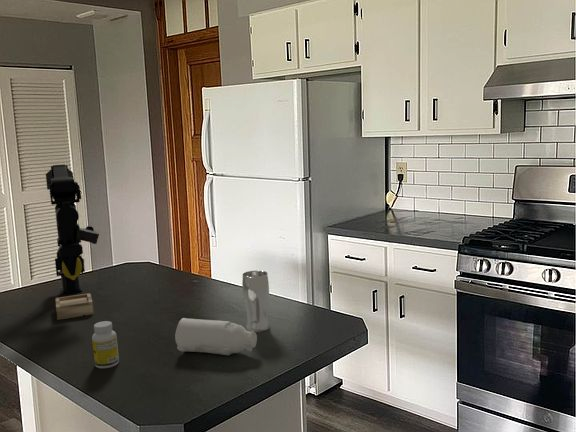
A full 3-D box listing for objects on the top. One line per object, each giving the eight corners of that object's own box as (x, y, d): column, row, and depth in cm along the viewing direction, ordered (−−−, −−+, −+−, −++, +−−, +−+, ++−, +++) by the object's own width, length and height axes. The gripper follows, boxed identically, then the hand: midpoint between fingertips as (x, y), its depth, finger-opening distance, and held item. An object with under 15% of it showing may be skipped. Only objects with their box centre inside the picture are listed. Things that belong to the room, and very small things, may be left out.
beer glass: (274, 324, 153) (272, 270, 151) (265, 334, 147) (262, 277, 144) (250, 322, 156) (247, 269, 153) (240, 331, 149) (237, 276, 147)
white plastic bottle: (249, 363, 129) (247, 330, 128) (175, 356, 135) (172, 324, 134) (261, 350, 137) (259, 318, 136) (190, 343, 143) (188, 313, 141)
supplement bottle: (98, 360, 134) (94, 320, 133) (121, 358, 135) (117, 319, 133) (92, 370, 129) (88, 328, 128) (116, 368, 130) (112, 327, 128)
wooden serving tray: (56, 309, 174) (55, 298, 173) (91, 304, 178) (90, 293, 177) (57, 319, 165) (56, 307, 164) (93, 314, 168) (92, 301, 168)
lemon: (76, 282, 167) (73, 256, 165) (59, 282, 168) (56, 256, 166) (86, 277, 172) (84, 251, 171) (70, 277, 173) (67, 251, 172)
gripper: (98, 223, 162) (103, 276, 164) (93, 214, 179) (97, 263, 181) (56, 227, 157) (62, 282, 160) (54, 218, 174) (60, 267, 177)
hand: (72, 273), depth 169 cm, fingers closed on lemon, 5 cm apart
